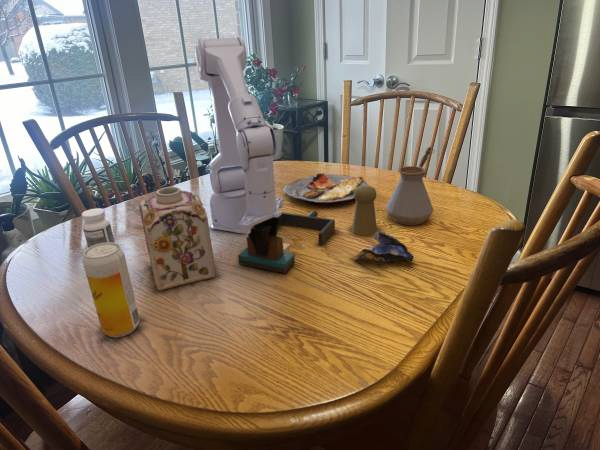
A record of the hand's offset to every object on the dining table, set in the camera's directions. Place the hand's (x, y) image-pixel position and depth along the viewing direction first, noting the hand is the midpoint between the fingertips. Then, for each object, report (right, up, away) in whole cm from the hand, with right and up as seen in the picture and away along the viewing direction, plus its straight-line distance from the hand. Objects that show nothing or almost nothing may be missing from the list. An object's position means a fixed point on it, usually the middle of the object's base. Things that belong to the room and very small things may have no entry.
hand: (265, 251), depth 90 cm
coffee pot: (+37, +9, +24) cm, 45 cm away
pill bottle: (-38, -1, +11) cm, 40 cm away
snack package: (+25, -2, +2) cm, 25 cm away
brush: (0, -3, +1) cm, 3 cm away
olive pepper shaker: (+23, +4, +15) cm, 28 cm away
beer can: (-23, -12, -16) cm, 31 cm away
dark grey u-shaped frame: (+8, +4, +17) cm, 19 cm away
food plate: (+15, +15, +40) cm, 45 cm away
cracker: (+2, -1, +5) cm, 5 cm away
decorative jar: (-17, -4, +1) cm, 18 cm away
